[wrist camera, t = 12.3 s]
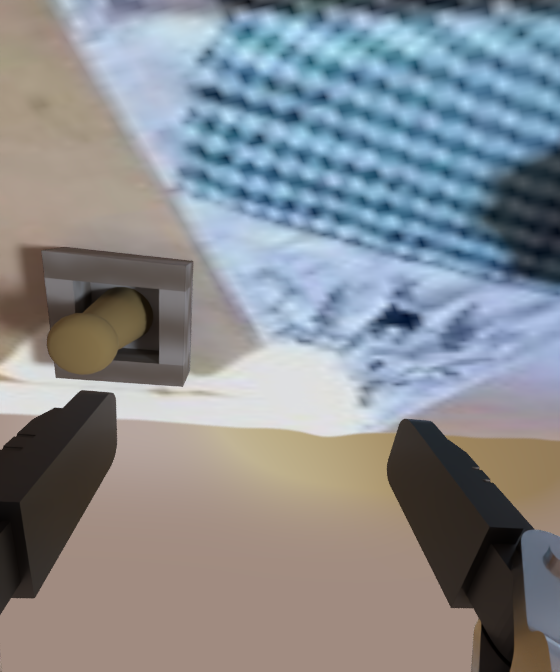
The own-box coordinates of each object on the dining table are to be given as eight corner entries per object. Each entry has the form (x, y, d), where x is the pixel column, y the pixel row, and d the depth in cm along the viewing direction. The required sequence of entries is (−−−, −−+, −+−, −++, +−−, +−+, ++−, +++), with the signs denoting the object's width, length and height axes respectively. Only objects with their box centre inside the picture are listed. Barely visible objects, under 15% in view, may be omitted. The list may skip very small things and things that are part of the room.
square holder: (65, 247, 34) (41, 250, 30) (193, 261, 35) (185, 266, 32) (75, 362, 38) (55, 377, 34) (189, 370, 40) (182, 386, 36)
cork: (164, 324, 37) (128, 365, 27) (118, 348, 38) (67, 397, 27) (131, 276, 35) (79, 300, 25) (84, 302, 36) (14, 337, 25)
